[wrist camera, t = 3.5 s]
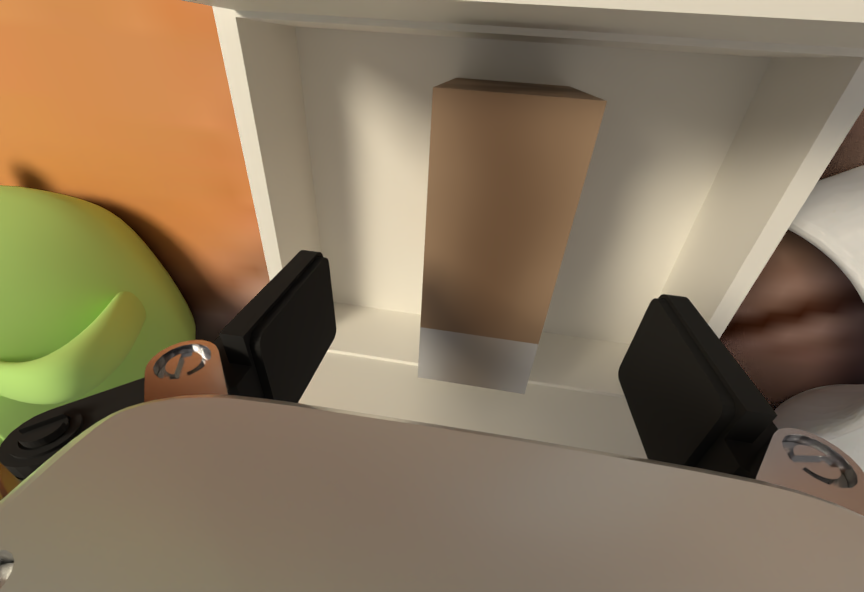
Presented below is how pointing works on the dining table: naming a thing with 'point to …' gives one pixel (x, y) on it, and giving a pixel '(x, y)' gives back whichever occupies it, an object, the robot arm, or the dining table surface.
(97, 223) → the teapot
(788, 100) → the carton
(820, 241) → the spoon rest
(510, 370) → the capped box
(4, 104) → the dining table surface
